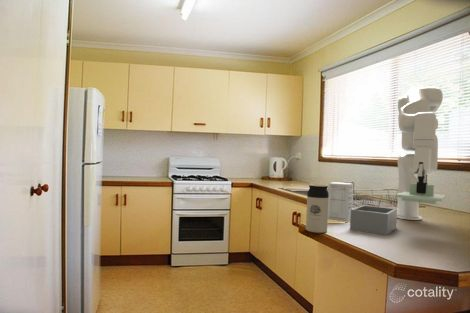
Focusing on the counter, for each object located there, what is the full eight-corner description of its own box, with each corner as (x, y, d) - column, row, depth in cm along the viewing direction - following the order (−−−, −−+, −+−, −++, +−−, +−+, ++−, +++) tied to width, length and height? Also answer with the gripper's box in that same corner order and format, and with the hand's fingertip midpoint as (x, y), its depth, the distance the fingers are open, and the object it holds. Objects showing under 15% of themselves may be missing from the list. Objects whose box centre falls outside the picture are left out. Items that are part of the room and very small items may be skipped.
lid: (404, 196, 156) (405, 182, 156) (445, 200, 148) (446, 184, 148) (395, 200, 140) (396, 183, 140) (440, 204, 132) (441, 187, 132)
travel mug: (311, 227, 150) (313, 183, 150) (330, 231, 145) (332, 184, 145) (302, 230, 144) (304, 183, 144) (321, 234, 139) (323, 185, 139)
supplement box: (352, 219, 175) (354, 183, 175) (347, 222, 168) (349, 184, 167) (332, 216, 180) (333, 181, 180) (326, 219, 172) (328, 182, 172)
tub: (362, 223, 165) (363, 205, 165) (396, 228, 158) (397, 209, 157) (349, 229, 150) (350, 209, 150) (386, 234, 143) (387, 213, 142)
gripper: (416, 145, 153) (414, 190, 153) (409, 143, 139) (407, 193, 139) (437, 146, 149) (435, 192, 149) (432, 144, 135) (429, 195, 135)
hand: (421, 192), depth 144 cm, fingers closed on lid, 2 cm apart
